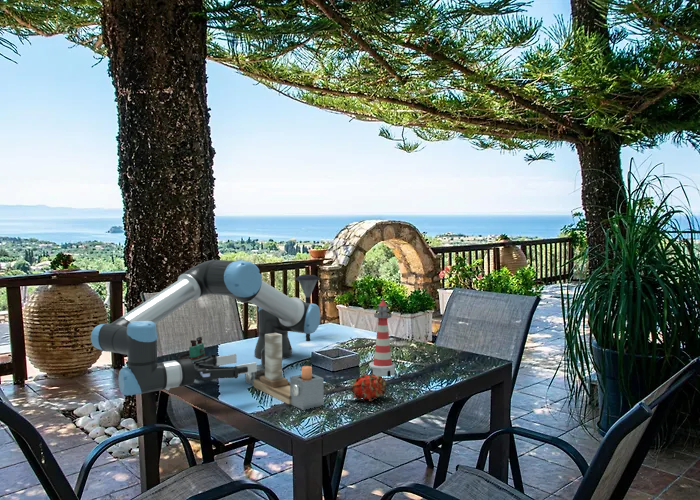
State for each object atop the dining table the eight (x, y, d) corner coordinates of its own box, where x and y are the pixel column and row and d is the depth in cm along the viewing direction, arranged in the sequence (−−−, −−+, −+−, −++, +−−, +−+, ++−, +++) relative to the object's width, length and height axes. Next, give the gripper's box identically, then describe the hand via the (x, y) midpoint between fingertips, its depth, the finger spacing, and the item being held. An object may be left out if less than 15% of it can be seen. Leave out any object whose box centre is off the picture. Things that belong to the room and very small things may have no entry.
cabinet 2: (310, 399, 164) (310, 373, 163) (323, 405, 158) (323, 378, 158) (288, 404, 159) (288, 377, 159) (301, 410, 154) (301, 382, 153)
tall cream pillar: (275, 379, 179) (274, 331, 179) (287, 385, 173) (287, 335, 172) (259, 382, 176) (259, 333, 175) (272, 388, 169) (271, 337, 169)
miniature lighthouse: (377, 380, 184) (377, 292, 183) (364, 374, 192) (364, 289, 191) (400, 377, 188) (400, 290, 187) (386, 371, 196) (386, 288, 195)
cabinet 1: (263, 378, 187) (263, 363, 187) (274, 382, 181) (273, 368, 181) (243, 382, 182) (243, 367, 182) (253, 386, 177) (253, 371, 176)
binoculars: (183, 337, 208) (207, 335, 206) (186, 364, 209) (210, 363, 207) (171, 342, 200) (196, 340, 198) (174, 370, 200) (199, 369, 198)
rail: (275, 382, 182) (275, 375, 181) (311, 399, 164) (311, 391, 164) (253, 386, 177) (253, 379, 177) (288, 404, 159) (288, 396, 159)
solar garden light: (289, 340, 250) (288, 275, 249) (310, 336, 259) (309, 273, 257) (305, 344, 241) (305, 276, 240) (326, 340, 250) (326, 275, 248)
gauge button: (308, 385, 161) (308, 365, 161) (313, 387, 158) (313, 367, 158) (299, 387, 159) (299, 367, 159) (305, 389, 157) (305, 369, 156)
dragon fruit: (390, 403, 164) (352, 413, 161) (381, 381, 171) (344, 390, 168) (393, 386, 159) (354, 396, 156) (383, 364, 165) (345, 372, 162)
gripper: (163, 377, 165) (228, 366, 178) (194, 397, 145) (265, 383, 158) (162, 352, 165) (228, 343, 178) (194, 369, 145) (265, 358, 158)
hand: (245, 362), depth 168 cm, fingers open, 13 cm apart
